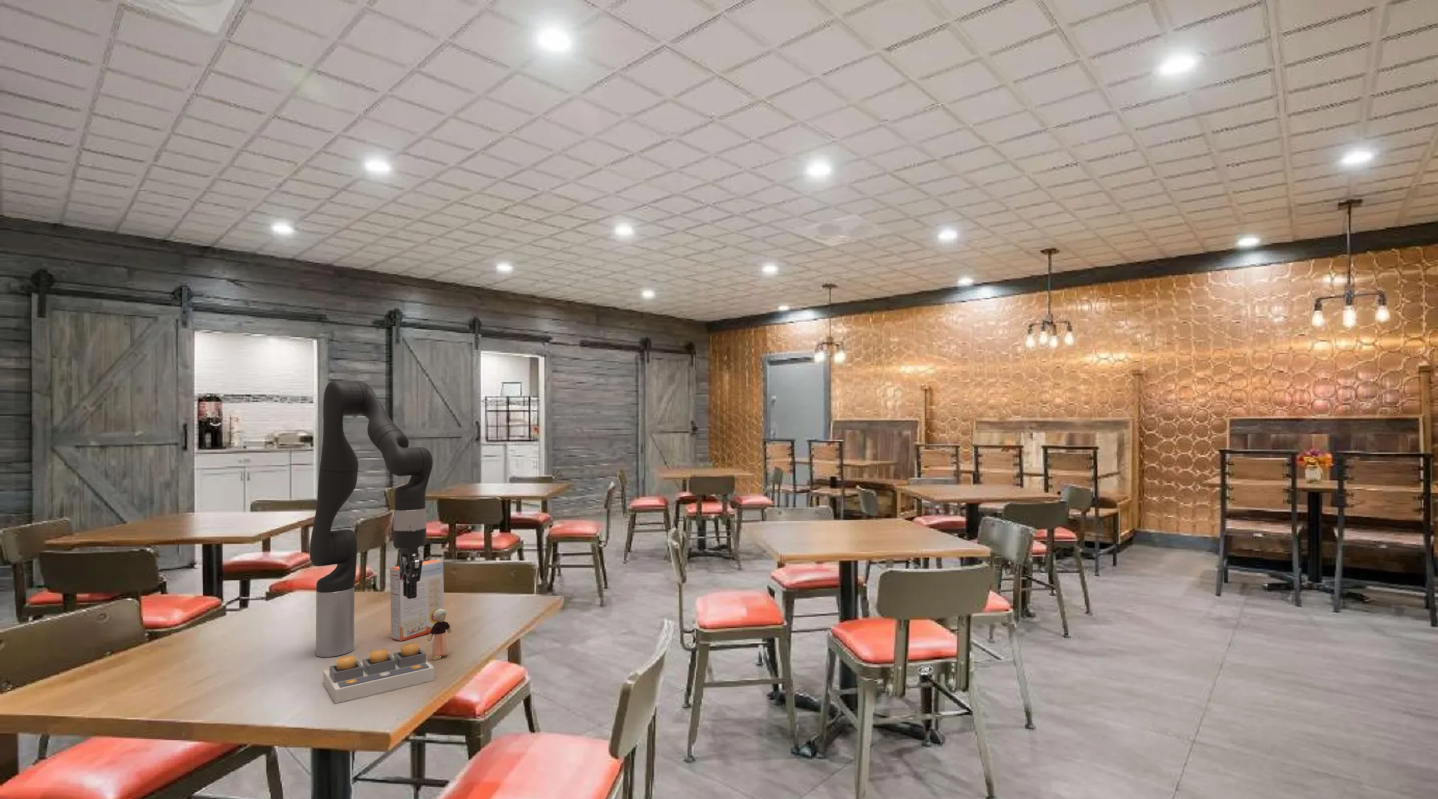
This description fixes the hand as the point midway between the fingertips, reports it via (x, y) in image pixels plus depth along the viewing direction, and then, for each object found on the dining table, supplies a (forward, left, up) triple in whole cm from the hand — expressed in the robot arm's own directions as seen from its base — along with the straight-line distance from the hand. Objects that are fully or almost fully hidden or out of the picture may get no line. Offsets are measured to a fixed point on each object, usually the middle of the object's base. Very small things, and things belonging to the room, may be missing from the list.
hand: (409, 596), depth 167 cm
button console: (0, -7, -19) cm, 20 cm away
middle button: (0, -7, -14) cm, 16 cm away
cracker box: (-35, +11, -19) cm, 41 cm away
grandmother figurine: (-9, +10, -19) cm, 24 cm away
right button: (0, 0, -14) cm, 14 cm away
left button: (0, -14, -14) cm, 20 cm away
